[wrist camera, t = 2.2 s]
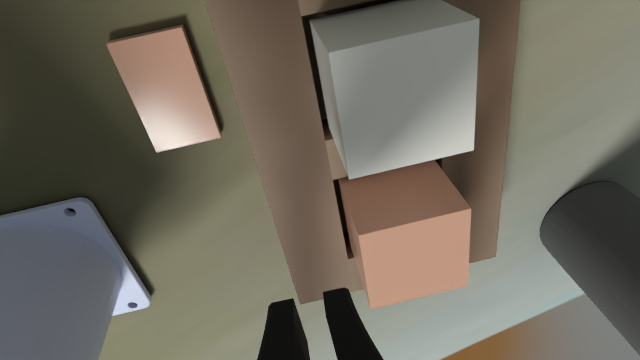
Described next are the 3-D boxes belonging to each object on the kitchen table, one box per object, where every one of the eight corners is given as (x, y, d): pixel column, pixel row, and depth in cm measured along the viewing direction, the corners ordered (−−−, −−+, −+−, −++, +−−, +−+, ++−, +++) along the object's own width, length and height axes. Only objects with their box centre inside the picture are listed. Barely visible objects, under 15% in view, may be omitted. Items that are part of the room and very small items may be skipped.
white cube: (329, 127, 17) (349, 179, 14) (309, 20, 15) (328, 52, 12) (430, 104, 18) (473, 150, 14) (427, -7, 15) (479, 18, 12)
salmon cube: (350, 247, 21) (370, 309, 18) (338, 177, 19) (358, 235, 16) (433, 227, 22) (467, 285, 18) (431, 155, 19) (471, 208, 16)
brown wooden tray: (294, 264, 25) (300, 304, 22) (111, -343, 11) (75, -412, 9) (470, 222, 25) (495, 256, 23) (499, -419, 12) (568, -506, 9)
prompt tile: (158, 147, 19) (156, 152, 19) (109, 40, 17) (105, 44, 16) (221, 132, 19) (220, 137, 19) (183, 24, 17) (181, 27, 16)
